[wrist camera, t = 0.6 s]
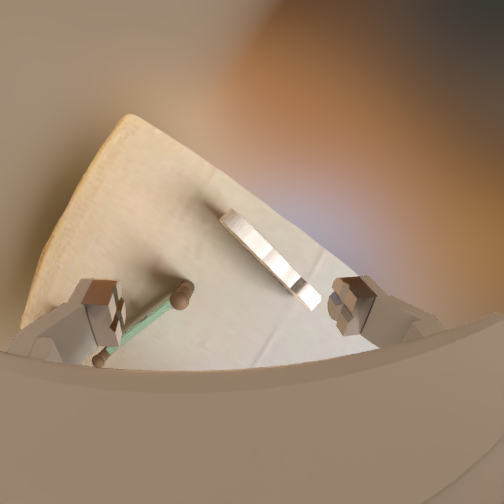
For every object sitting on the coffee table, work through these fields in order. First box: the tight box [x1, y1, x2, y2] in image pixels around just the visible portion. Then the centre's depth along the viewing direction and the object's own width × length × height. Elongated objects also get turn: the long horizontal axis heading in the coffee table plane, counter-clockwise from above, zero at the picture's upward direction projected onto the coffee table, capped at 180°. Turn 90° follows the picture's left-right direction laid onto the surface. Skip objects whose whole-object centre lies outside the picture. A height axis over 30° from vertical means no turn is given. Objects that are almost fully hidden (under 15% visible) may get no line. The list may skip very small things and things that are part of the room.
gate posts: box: [92, 281, 194, 368], centre depth 50 cm, size 3×25×14 cm, turn 126°
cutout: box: [219, 209, 321, 311], centre depth 53 cm, size 15×3×25 cm
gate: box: [106, 298, 173, 355], centre depth 52 cm, size 2×19×8 cm, turn 126°
